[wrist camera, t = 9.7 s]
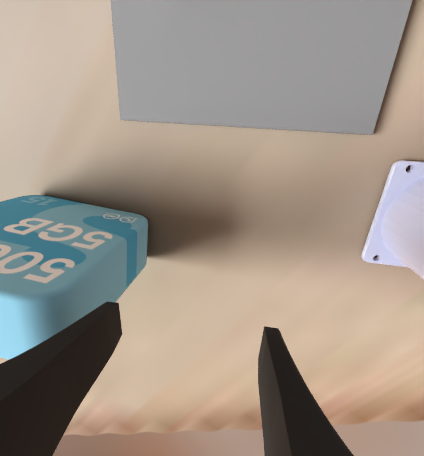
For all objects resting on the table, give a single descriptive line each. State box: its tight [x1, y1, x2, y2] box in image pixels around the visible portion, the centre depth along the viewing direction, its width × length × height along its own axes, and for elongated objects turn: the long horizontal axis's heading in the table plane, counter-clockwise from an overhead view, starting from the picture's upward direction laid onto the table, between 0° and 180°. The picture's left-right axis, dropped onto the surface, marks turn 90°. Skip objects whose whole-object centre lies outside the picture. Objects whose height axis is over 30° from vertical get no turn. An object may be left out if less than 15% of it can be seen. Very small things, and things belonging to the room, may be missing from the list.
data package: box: [0, 195, 148, 360], centre depth 17 cm, size 12×4×12 cm, turn 82°
